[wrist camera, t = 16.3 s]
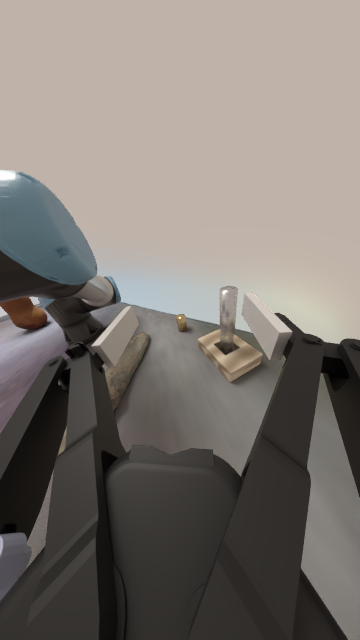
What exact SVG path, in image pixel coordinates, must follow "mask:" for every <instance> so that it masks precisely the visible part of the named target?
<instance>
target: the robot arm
mask: <svg viewBox="0 0 360 640" xmlns="http://www.w3.org/2000/svg"><path fill="white" fill-rule="evenodd" d="M96 274H97V264H96V261H95V258H94V256H93V253H92V250H91V249H90V247H89V244H88V242H87V240H86V239H85V237H84V235H83V233H82V232H81V230H80V229H79V227H78V226H77V225H76V223H75V221H74V219H73V217H72V216H71V215H70V213H69V212H68V210H67V209H66V208H65V207H64V205H63V204H62V203H61V202H60V200H59V199H58V198H57V197H56V196H55V195H54V194H53V193H52V192H51V191H50V190H49V189H48V188H47V187H46V186H45V185H44V184H42V183H41V182H40V181H38V180H37V179H35V178H33V177H32V176H30V175H27V174H25V173H22V172H18V171H10V170H0V303H3V302H6V301H10V300H14V299H18V298H23V297H32V296H33V297H38V300H39V301H40V303H41V304H42V306H43V308H45V309H46V311H47V312H48V313H49V314H50V315H51V316H52V318H53V319H54V320H55V321H56V322H57V323H58V325H59V326H60V327H61V328H62V330H63V333H64V336H65V340H66V342H67V343H68V344H69V345H70V346H69V347H68V348H67V349H66V350H65V353H66V354H67V355H68V356H69V357H70V358H69V359H66V360H65V359H64V358H63V357H62V356H58V357H55V358H53V359H52V360H50V361H49V362H47V363H46V364H45V365H44V367H43V368H42V370H41V372H40V373H39V375H38V376H37V378H36V379H35V381H34V383H33V384H32V386H31V387H30V389H29V390H28V392H27V393H26V395H25V397H24V398H23V400H22V401H21V403H20V404H19V406H18V407H17V409H16V411H15V412H14V414H13V415H12V417H11V418H10V420H9V421H8V423H7V425H6V426H5V428H4V429H3V431H2V432H1V434H0V640H348V639H347V637H346V636H345V634H344V633H343V631H342V630H341V628H340V627H339V625H338V624H337V622H336V621H335V619H334V618H333V616H332V615H331V613H330V612H329V610H328V609H327V607H326V606H325V604H324V603H323V601H322V600H321V598H320V596H319V595H318V593H317V592H316V590H315V589H314V587H313V586H312V584H311V583H310V581H309V580H308V578H307V577H306V575H305V574H304V572H303V571H302V569H301V560H302V552H303V544H304V536H305V528H306V520H307V512H308V504H309V496H310V486H311V479H310V474H309V472H308V470H307V461H308V454H309V448H310V441H311V434H312V427H313V421H314V414H315V407H316V401H317V394H318V387H319V381H320V374H321V373H323V375H324V379H325V382H326V386H327V389H328V392H329V396H330V399H331V402H332V406H333V409H334V412H335V416H336V419H337V423H338V426H339V429H340V433H341V436H342V439H343V443H344V446H345V449H346V453H347V456H348V460H349V463H350V466H351V470H352V473H353V476H354V480H355V483H356V487H357V490H358V493H359V497H360V340H356V339H344V340H342V341H341V343H340V344H334V343H327V342H324V341H323V340H322V339H320V338H318V337H317V336H314V335H311V334H305V333H303V332H302V331H301V330H300V329H299V328H298V327H296V325H294V324H293V323H292V322H291V321H290V320H289V319H288V318H287V317H286V316H284V315H282V314H280V313H273V312H272V311H271V310H270V309H269V308H268V307H267V306H266V305H265V304H264V303H263V302H262V301H261V300H260V299H259V298H258V297H257V296H255V294H254V293H252V292H248V293H245V294H244V300H243V308H242V316H243V317H244V319H245V321H246V322H247V324H248V326H249V327H250V329H251V330H252V332H253V334H254V335H255V337H256V339H257V340H258V342H259V343H260V345H261V347H262V348H263V350H264V352H265V353H266V355H267V356H268V358H269V360H281V358H282V356H283V355H284V356H285V357H286V361H285V363H284V365H283V367H282V368H283V369H282V371H281V374H280V377H279V379H278V382H277V384H276V387H275V390H274V392H273V395H272V397H271V400H270V403H269V405H268V408H267V411H266V413H265V416H264V418H263V421H262V424H261V426H260V429H259V431H258V434H257V437H256V439H255V442H254V445H253V447H252V450H251V452H250V454H249V457H248V459H247V462H246V464H245V467H244V469H243V472H242V474H241V477H240V476H239V474H238V473H237V472H236V471H235V470H234V469H233V468H232V467H231V465H229V464H228V463H227V462H226V461H225V460H223V459H222V458H220V457H218V456H216V455H214V454H213V450H210V449H194V448H191V449H188V450H185V451H182V452H179V453H175V454H172V455H169V454H166V453H164V452H162V451H160V450H158V449H156V448H154V447H152V446H144V445H132V448H131V451H129V452H127V453H126V452H125V449H124V448H123V446H122V444H121V442H120V438H119V433H118V429H117V425H116V420H115V416H114V411H113V407H112V402H111V398H110V394H109V389H108V385H107V380H106V376H105V371H104V368H103V367H102V365H103V364H104V363H105V364H106V366H107V367H115V365H116V364H117V362H118V360H119V358H120V357H121V355H122V353H123V351H124V350H125V348H126V346H127V344H128V343H129V341H130V339H131V337H132V336H133V334H134V332H135V330H136V329H137V327H138V325H139V323H138V320H137V318H136V316H135V313H134V311H133V308H132V306H129V307H125V308H124V309H123V311H122V312H121V313H120V314H119V315H118V316H117V317H116V319H115V320H114V321H113V322H112V323H111V324H110V325H109V326H108V328H107V329H106V330H104V326H103V325H102V323H100V322H99V321H98V320H97V319H95V318H94V317H93V316H92V315H91V314H90V312H91V311H94V310H97V309H100V308H103V307H106V306H110V305H113V304H116V303H118V302H120V301H121V297H120V294H119V291H118V288H117V286H116V284H115V282H114V280H113V278H112V277H110V276H109V277H104V278H103V277H101V276H97V275H96ZM94 339H95V340H94ZM93 340H94V341H93ZM91 341H93V343H92V344H91V345H90V346H89V347H88V348H87V347H86V346H85V344H86V343H89V342H91ZM58 381H59V382H60V383H61V384H60V386H59V385H58ZM66 426H67V432H66V446H65V450H64V451H63V452H62V453H60V454H59V455H58V452H59V449H60V446H61V442H62V439H63V436H64V432H65V429H66ZM57 456H58V457H57ZM53 469H54V473H53V482H52V491H51V500H50V509H49V517H48V526H47V535H46V544H45V547H44V548H43V549H42V550H41V552H40V553H39V554H38V555H37V557H36V558H35V559H34V560H33V562H32V563H31V564H30V565H29V566H28V568H27V569H26V567H27V565H28V563H29V560H30V557H31V553H32V550H31V547H29V546H28V547H26V545H27V540H28V538H29V536H30V534H31V532H32V529H33V527H34V525H35V522H36V520H37V517H38V515H39V512H40V510H41V507H42V504H43V501H44V498H45V495H46V492H47V489H48V485H49V482H50V479H51V475H52V472H53ZM25 569H26V570H25ZM24 570H25V571H24ZM23 572H24V573H23ZM22 573H23V574H22ZM19 577H20V578H19ZM18 578H19V579H18ZM17 579H18V580H17ZM16 580H17V581H16Z"/></svg>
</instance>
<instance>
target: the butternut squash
mask: <svg viewBox="0 0 360 640" xmlns="http://www.w3.org/2000/svg"><path fill="white" fill-rule="evenodd" d="M0 306H1V307H2V308H3V309H4V311H5V312H7V314H8V315H9V316H10V318H11V320H12V322H13V323H14V324H15V325H16V326H17V327H19V328H23V329H38V328H40V327H42V326H43V325H44V324H46V322H47V315H46V313H45V312H44V311H42V310H41V309H39V308H37V307H36V306H34V305H33V303H32V302H31V299H30V298H29V297H23V298H18V299H14V300H10V301H6V302H3V303H0Z"/></svg>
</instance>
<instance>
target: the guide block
mask: <svg viewBox="0 0 360 640" xmlns="http://www.w3.org/2000/svg"><path fill="white" fill-rule="evenodd" d="M198 344H199V348H200V349H201V350H202V351H203V352H204V354H205V355H206V356H207V357H208V358H209V359H210V360H211V361H212V363H213V364H214V365H215V366H216V367H217V368H218V369H219V371H220V372H221V373H222V374H223V375H224V376H225V377H226V378H227V380H228V381H229V382H232V381H233V380H235V379H237V378H238V377H240V376H241V375H243V374H245V373H246V372H248V371H250V370H251V369H253V368H254V367H256V366H258V365H259V364H261V360H262V356H263V354H262V353H260V352H259V351H257V350H256V349H254V348H253V347H251V346H250V345H249V344H247V343H246V342H244V341H243V340H241V339H240V338H238V337H237V336H236V335H234V347H233V352H231V353H229V354H228V355H226V356H225V355H224V354H223V353H222V352H221V351H220V329H219V330H216V331H214V332H212V333H210V334H208V335H206V336H203V337H201V338H199V339H198Z"/></svg>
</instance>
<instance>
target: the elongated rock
mask: <svg viewBox="0 0 360 640" xmlns="http://www.w3.org/2000/svg"><path fill="white" fill-rule="evenodd" d="M149 338H150V336H149V335H147V333H145V332H143V333H140V334H138V335H136V336H135V337H134V338H132V339H131V340H130V341H129V343H128V344H127V346H126V348H125V350H124V351H123V353H122V355H121V357H120V358H119V360H118V362H117V364H116V365H115V367H109V368H108V369H107V370H106V372H105V376H106V380H107V385H108V389H109V394H110V398H111V402H112V407H113V411H114V410H115V408H116V407H117V406H118V404H120V403H121V398H122V397H123V395H124V391H125V389H126V388H127V386H128V384H129V382H130V381H131V378H132V375H133V373H134V371H135V370H136V368H137V366H138V365H139V361H140V360H142V357H143V354H144V352H145V350H146V348H147V346H148V343H149ZM66 432H67V428H66V430H65V432H64V436H63V439H62V442H61V446H60V449H59V452H58V455H59V454H60V453H62V452H63V451H64V450H65V446H66Z"/></svg>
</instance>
